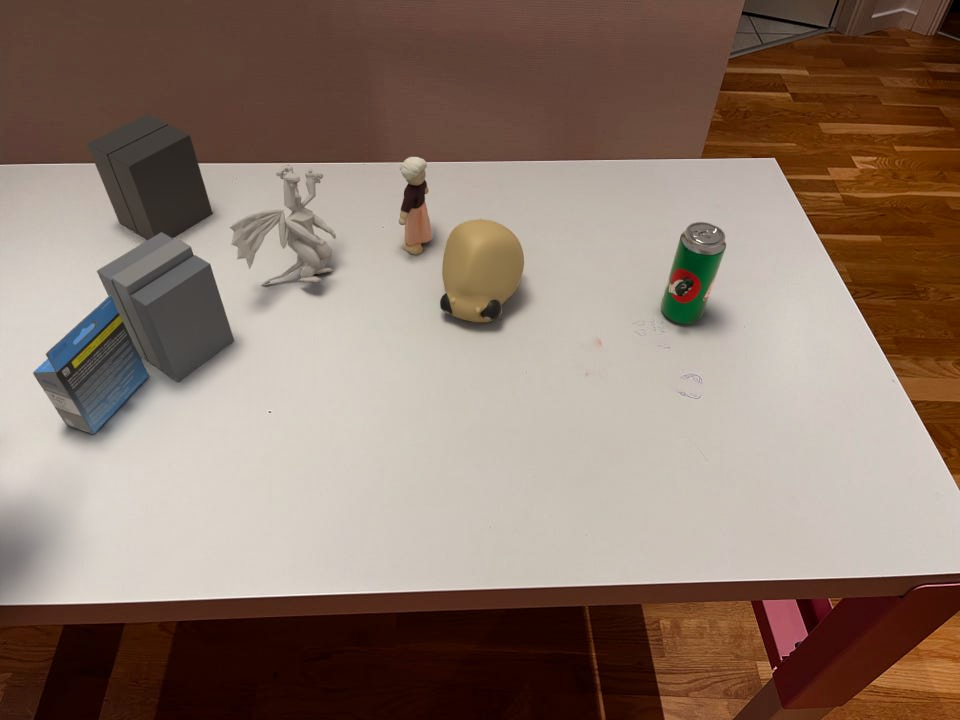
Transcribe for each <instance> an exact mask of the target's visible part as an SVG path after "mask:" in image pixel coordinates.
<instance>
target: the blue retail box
mask: <svg viewBox="0 0 960 720" xmlns="http://www.w3.org/2000/svg"><path fill="white" fill-rule="evenodd" d="M45 356H46V357H47V358H46V360H45V361H44V362H42V363H41V364H40V365H39V366H38V367H37V368H35V370H34V371H33V372H32V375H33V376H34V378H35V379H36V381H37V383H38V384H39V386H40V387H41V388H42V390H43V392H44V393H45V395H46V397H47V398H48V399H49V401H50V402H51V404H52V405H53V407H54V408H55V410H56V412H57V413H58V415H59V417H60V419H61V420H62V421H63V423H64V424H65V425H66V426H68V427H71V428H74V429H76V430H80V431H81V432H82V431H83V432H85V433H88V434H91V435H95V434H96V433H97V432H98V431H99V429H101V428H102V426H103V425H104V424H105V423H106V422H107V421H108V420H109V419H110V418H111V417H112V416H113V415H114V413H116V412H117V410H118V409H119V408H120V407H121V406H122V405H123V404H124V403H125V401H127V400H128V398H130V397H131V395H132V394H133V393H134V392H136V390H137V389H138V388H139V387H140V386H141V385H142V384H143V383H144V382H145V381H146V380H147V378H148V377H150V374H149V372H148V370H147V368H146V366H145V364H144V362H143V360H142V357H141V356H140V355H139V354H138V351H137V349H136V347H135V345H134V343H133V341H132V339H131V337H130V335H129V333H128V331H127V329H126V327H125V325H124V323H123V321H122V318H121V316H120V314H119V313H118V311H117V309H116V306H115V304H114V301H113V298H112V296H111V295H109V296H108V295H107V297H106V298H105V299H104V300H103V301H102V302H100V303H99V304H98V306H96V307H95V308H94V309H93V310H91V312H90V313H89V314H87V315H86V316H85V317H84V318H82V320H81V321H79V322H78V324H76V325H75V326H74V327H73V328H72V329H71V330H69V332H68V333H67V334H65V335H64V336H63V338H61V339H60V340H59V341H58V342H57V343H55V345H53V346H52V347H51V348H49V349H48V350H47V352H45Z"/></svg>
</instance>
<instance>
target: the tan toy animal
mask: <svg viewBox="0 0 960 720" xmlns="http://www.w3.org/2000/svg"><path fill="white" fill-rule="evenodd" d="M524 268H525V256H524V250H523V247H522V244H521V241H520V240H519V239H518V237H517V235H516V234H515V233H514V232H513V231H512V230H511V229H510V228H508V227H506V226H505V225H503V224H501V223H500V222H496V221H493V220H489V219H471V220H467V221H466V220H465V221H464V222H461V223H459V224H457V225H456V226H455V227H453V229H452V230H451V231H450V233H449V236H448V237H447V240H446V243H445V247H444V251H443V257H442V267H441V269H442V270H441V274H442V275H441V277H442V282H443V288H444V289H443V290H444V291H445V293H444V294H443V295H442V296H441V298H440V300H439V307H440V309H441V310H442V311H443V312H444V313H446V314H448V315H451V316H453V317H455V318H457V319H460V320H464V321H467V322H472V323H489V322H492V321H494V320H496V319H498V318H499V317H500V316H501V315H502V313H503V308H502V305H503V304H504V303H505V302H506V301H507V300H508V299H509V298H510V297H511V296H512V295H513V294H514V292H515V291H516V290H517V288H518V286H519V284H520V283H521V280H522V276H523V273H524Z"/></svg>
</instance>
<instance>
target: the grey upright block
mask: <svg viewBox="0 0 960 720" xmlns="http://www.w3.org/2000/svg"><path fill="white" fill-rule="evenodd" d="M96 273H97V275H98V276H99V279H100V281H101V283H102V286H103V288H104V290H105V292H106V294H107V297H108V296H109V295H111V296H112V298H113V301H114V304H115V306H116V309H117V311H118V313H119V314H120V316H121V318H122V321H123V323H124V325H125V327H126V329H127V331H128V333H129V335H130V337H131V339H132V341H133V343H134V345H135V347H136V349H137V351H138V354H139V356H140V358H143V359H144V360H146V361H147V362H149V363H150V364H152V365H153V366H154V367H156V368H157V369H159V370H160V371H161V372H163V373H164V374H166V375H167V376H169V377H170V378H172V380H174V381H176V382H177V383H179V382H181V380H183V379H185V377H187V376H189V375H190V374H191V373H192V372H194V371H195V370H197V369H198V368H200V367H201V366H202V365H203V364H205V363H206V362H207V361H208V360H210V359H211V358H213V357H214V356H216V355H217V354H218V353H220V352H221V351H222V350H224V349H225V348H226V347H227V346H229V345H230V344H232V343H233V342H234V341H235V338H234V335H233V332H232V329H231V326H230V323H229V319H228V316H227V313H226V310H225V306H224V304H223V300H222V298H221V294H220V291H219V288H218V284H217V281H216V278H215V275H214V271H213V269H212V266H211V263H209V262H208V261H206V260H205V259H203V258H201V257H200V256H198V255H196V254H194V252H193V249H192V246H191V245H189V244H187V243H186V242H184V241H182V240H180V239H179V238H178V237H174V238H171V237H169V236H167V235H166V234H164V233H162V232H161V233H159V234H158V235H156V236H154V237H153V238H151V239H149V240H146V241H144V242H143V243H141V244H139V245H138V246H136V247H134V248H132V249H130V250H128V251H127V252H126V253H124V254H122V255H120V256H119V257H117V258H116V259H113V260H112V261H110V262H109V263H107V264H105V265H104V266H102V267H100V268H98V269H97V270H96Z"/></svg>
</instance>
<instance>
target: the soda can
mask: <svg viewBox="0 0 960 720" xmlns="http://www.w3.org/2000/svg"><path fill="white" fill-rule="evenodd" d="M726 248H727V242H726V233H725V232H724V230H723V229H722V228H720V227H719V226H718V225H715V224H713V223H710V222H707V221H706V222H705V221H698V222H697V221H696V222H693V223H690V224H689V225H687V226H686V229H685V230H684V231H683V232H681V234H680V237H679V240H678V244H677V247H676V251H675V254H674V258H673V261H672V265H671V269H670V272H669V275H668V279H667V282H666V285H665V289H664V292H663V297H662V300H661V304H660V308H661V311H662V313H663V314H664V316H665V317H666V318H667V319H668V320H670V321H671V322H674V323H677V324H681V325H688V324H693V323H695V322H697V321H699V320H700V319H701V318H702V317H703V316H704V312H705V309H706V306H707V304H708V300H709V297H710V296H711V295H710V294H711V292H712V288H713V287H714V283H715V281H716V277H717V274H718V272H719V268H720V265H721V263H722V260H723V257H724V254H725V252H726Z"/></svg>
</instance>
